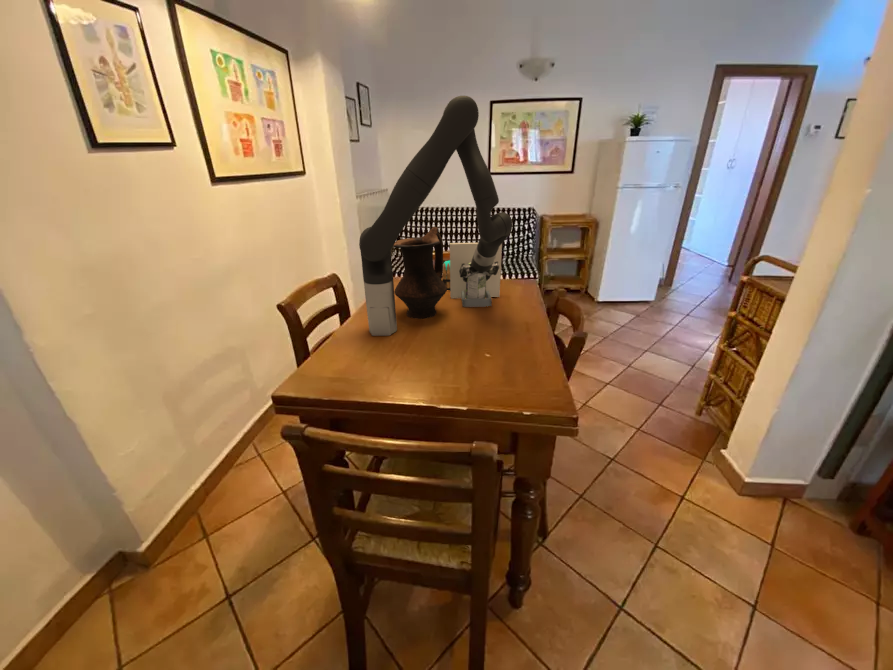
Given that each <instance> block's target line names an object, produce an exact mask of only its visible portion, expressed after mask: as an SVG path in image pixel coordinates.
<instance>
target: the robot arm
mask: <svg viewBox="0 0 893 670" xmlns="http://www.w3.org/2000/svg"><path fill="white" fill-rule="evenodd" d="M479 114H480V113H479V108H478V105H477V103H476V101H475V99H474V98H472V97H471V96H468V95H457V96H456V97H455V96H454V98H451V100H450V101H449V102H448V103H447V105H446V106H445V108H444V110H443V113H442V117H440V120H439V122H438V124H437V126H436V127H435V129H434V131H433V132H432V134H431V135H430V137H429V138H428V139H427V141H426V143H424V144H423V146H422V147H421V148H420V149H419V150H418V152H417V153H416V154H415V155H414V156H413V158H411V161H409V163H408V164H407V166H406V167H405V169H404V170H403V171H402V173H401V175H400V176H399V178H398V179H397V181H396V183H395V184H394V186H393V188H392V191H391V193H390V195H389V197H388V200H387V202H386V204H385V206H384V209H383V210H382V212H381V213H380V214H379V216H378V217H377V219H376V220H375V221H374V223H373V224H372V225H371V226H368V227H367V228H364V230H363V231H362V232H361V234H360V236H359V250H360V257H361V267H362V268H361V269H362V278H363V279H362V280H363V288H364V296H365V297H364V298H365V306H366V313H367V315H366V316H367V322H368V331H369V333H370V334H371V336H376V337H377V336H378V337H379V336H384V337H385V336H392V334H394V333H396V332H397V331H398V325H397V324H398V322H397V311H396V309H397V308H396V299H395V298H396V297H395V296H396V295H395V284H394V272H393V271H394V269H393V262H392V253H391V251H392V249H393V248H394V246H393V245H394V243H395V242H396V241H398V237H399V236H400V234H401V232H402V231H403V229H404V228H405V226H406V225H407V224H408V223H409V221H410V220H411V218H413V217H414V215H415V214H416V212H417V211H418V210H419V208H420V207H421V206H422V204H423V203H424V202H425V200H426V199H427V198H428V196H429V195H430V193H431V191H432V190H433V189H434V187H435V186H436V184H437V183H438V180H440V178H441V176H442V173H443V172H444V170H445V168H446V166H447V165H448V164H449V161H450V159H451V157H452V156H453V154H454V153H455V152H457V155H458V157H459V161H460V162H461V164H462V167H463V171H464V173H465V174H464V175H465V177H466V180H467V182H468V186H469V190H470V192H471V195H472V198H473V201H474V204H475V206H476V207H475V209H476V216H477V217H476V219H477V230H478V234H479V236H480V237H479V239H478V242H477V243H478V245H477V247H476V249H475V252H474V255H473V258H472V261H471V264H469V265H465V264H464V263H463V264H462V265H461V268H460V270H459V273H460V277H463V281H464V282H467V279H468V277H469V276H473V275H474V274H478V273H485V274H486V281H487V280H488V279H490V276H492V275H496V274H497V272H498V269H499V265H498V261H496V262H495V263H494V264H493V262H494V260H495V258H496V254H497V251H498V249H499V246H500V245H501V244H502V245H503V243H504V242H505V241H506V240H507V238H508V237H509V236H510V234H511V233H512V229H513V220H512V217H511V216H510V215H509V214H508V213H507V212H503V211H501V212H497V213H496V214H493V215H492V210H493V209H494V208H495V207H496V206H498V204H499V201H500V198H499V195H498V191H497V189H496V186H495V182H494V180H493V176H492V174H491V172H490V169H489V168H488V165H487V163H486V162H485V160H484V157H483V155H482V153H481V150H480V147H479V144H478V141H477V135H476V131H475V128H476V127H477V125H478V122H479ZM492 267H493V269H492V270H490V269H491V268H492ZM471 271H472V272H471ZM467 272H468V274H467Z"/></svg>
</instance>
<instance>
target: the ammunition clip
mask: <svg viewBox="0 0 893 670" xmlns="http://www.w3.org/2000/svg"><path fill="white" fill-rule="evenodd" d="M443 263H444V262H443ZM446 276H447V278H446ZM442 281H443V282H444V284H445V285H446V286H447V290H450V266H449V263H448V265H447V270H446V266H445V263H444V264H443V274H442Z"/></svg>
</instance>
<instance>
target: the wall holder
mask: <svg viewBox="0 0 893 670" xmlns="http://www.w3.org/2000/svg"><path fill="white" fill-rule="evenodd" d="M477 245H478V242H450V243H449V260H450V291H449V293H450V297H451V298H450V299H461V304H462V308H473V307H474V308H478V307H480V308H481V307H482V308H484V307H486V306H487V307H488V306H491V307H492V301H493V300H492V299H493V298H491V297H499V298H500V295H501V294H500V293H501V272H502V253H503V252H502V251H503V243H502V244H501V245H500V246H499V249H498V251H497V254H496V258H495V260H494V262H493V264H494V263H495V262H496V261H498V265H499V269H498V272H497V274H496V275H492V276H490V279H488V280H487V281H486V296H485V298H478V299H466V282H464V281H463V277H460V273H459V270H460V268H461V265H462V264H463V263H464V264H465V265H467V264H468V263H471V261H472V258H473V255H474V252H475V249H476V247H477ZM492 269H493V267H492V268H491V269H490V270H492ZM488 308H489V307H488Z"/></svg>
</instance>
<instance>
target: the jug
mask: <svg viewBox="0 0 893 670" xmlns="http://www.w3.org/2000/svg"><path fill="white" fill-rule="evenodd" d="M393 248H396V249H401V256H402V262H403V267H404V273H403V276H402V277H401V279H400V280H399V282H398V283H397V285H396V287H395V288H394V296H396V297H397V298H398V299H400V300H401V301H402V302H403V304H405V306H406V307H407V309H408V310H407V312H406V317H408V318H409V319H413V320H425V319H430V318H433V317H435V316H436V315H437V309H436V306H437V304H438V303H439V301H440V300H441V299H442V297H444V296H445V294H447V293H446V292H448V291H447V286H446V285H445V284H444V282H443V263H444V244H443V240H442V236H441V234H440V229H439V227H436V226H434V227H431V228H430V230H429V231H428V232H427V233H426V234H425V235H423V236H417V237H408V238H402V239H399V240H398V239H397V240H396V241H395V243H394V245H393ZM433 257H434V258H433Z"/></svg>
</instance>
